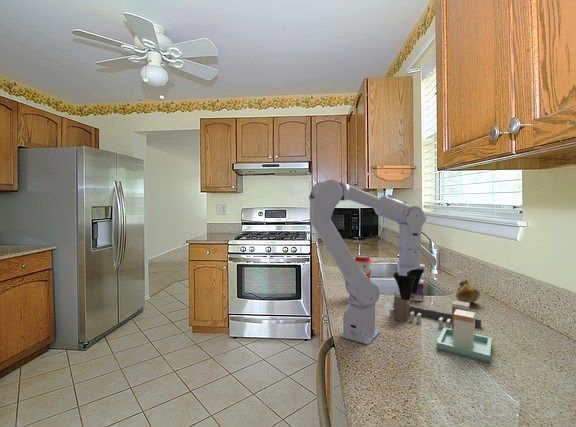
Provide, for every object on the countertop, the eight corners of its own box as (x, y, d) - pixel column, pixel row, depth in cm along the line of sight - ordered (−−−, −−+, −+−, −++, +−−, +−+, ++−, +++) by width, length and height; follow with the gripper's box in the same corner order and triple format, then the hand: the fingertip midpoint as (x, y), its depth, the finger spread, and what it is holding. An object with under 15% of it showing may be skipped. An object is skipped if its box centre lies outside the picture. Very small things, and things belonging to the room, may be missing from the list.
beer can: (373, 297, 115) (374, 255, 114) (365, 301, 110) (366, 258, 109) (358, 294, 119) (359, 254, 118) (350, 297, 114) (351, 256, 114)
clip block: (478, 336, 81) (479, 328, 81) (386, 316, 96) (386, 308, 96) (481, 325, 89) (481, 317, 89) (395, 307, 103) (395, 301, 103)
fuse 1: (406, 321, 92) (407, 295, 91) (393, 318, 94) (394, 293, 94) (410, 317, 95) (410, 292, 94) (397, 315, 97) (397, 290, 97)
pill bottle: (426, 301, 110) (426, 275, 109) (411, 301, 110) (411, 275, 110) (420, 296, 115) (420, 271, 115) (405, 296, 115) (406, 271, 115)
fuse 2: (467, 335, 82) (468, 306, 82) (451, 331, 84) (452, 303, 84) (469, 330, 85) (469, 302, 85) (453, 327, 88) (454, 300, 87)
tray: (489, 363, 68) (489, 355, 68) (436, 349, 74) (436, 342, 74) (491, 344, 77) (491, 337, 77) (443, 333, 83) (444, 327, 83)
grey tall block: (473, 350, 73) (473, 317, 72) (453, 345, 75) (453, 314, 75) (474, 343, 76) (475, 312, 76) (455, 339, 79) (455, 308, 78)
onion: (451, 303, 108) (451, 281, 108) (459, 298, 114) (459, 277, 113) (475, 308, 103) (475, 285, 102) (482, 303, 108) (482, 281, 108)
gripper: (418, 253, 76) (418, 306, 77) (430, 246, 88) (429, 292, 89) (390, 250, 80) (390, 300, 81) (405, 244, 92) (404, 288, 93)
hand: (409, 296), depth 85 cm, fingers open, 7 cm apart
